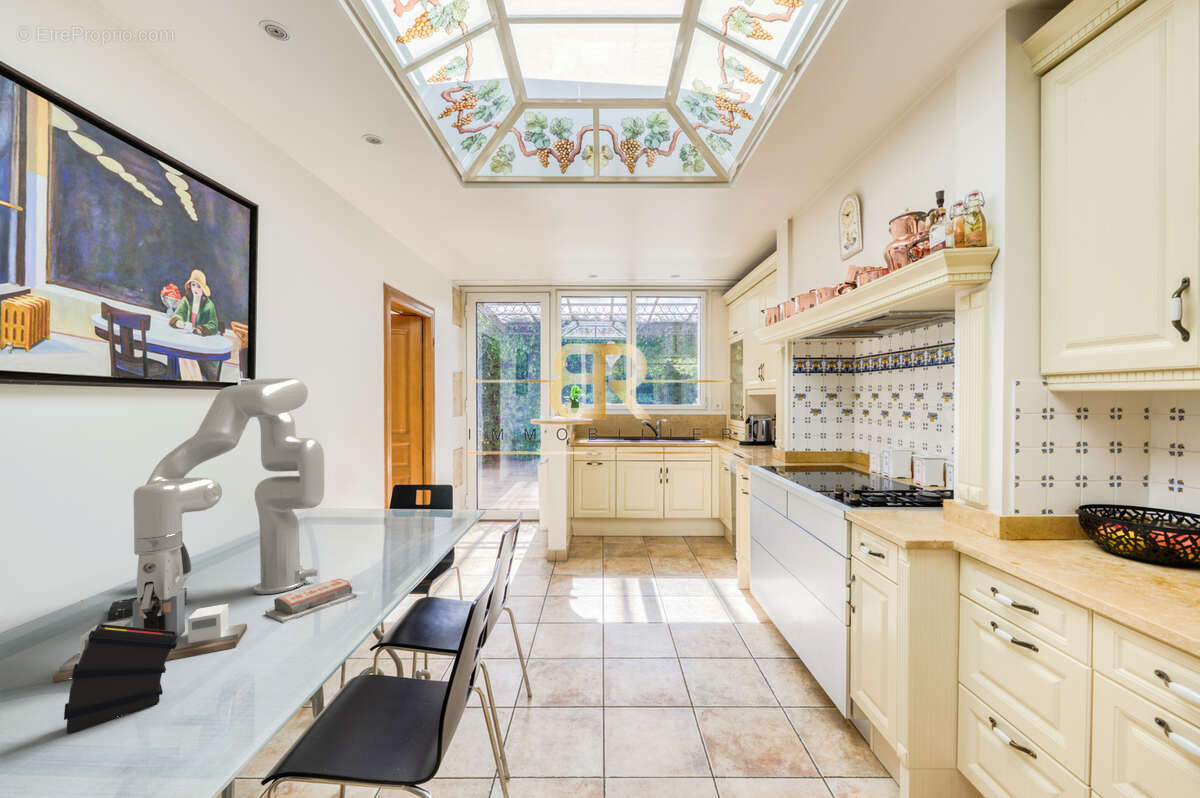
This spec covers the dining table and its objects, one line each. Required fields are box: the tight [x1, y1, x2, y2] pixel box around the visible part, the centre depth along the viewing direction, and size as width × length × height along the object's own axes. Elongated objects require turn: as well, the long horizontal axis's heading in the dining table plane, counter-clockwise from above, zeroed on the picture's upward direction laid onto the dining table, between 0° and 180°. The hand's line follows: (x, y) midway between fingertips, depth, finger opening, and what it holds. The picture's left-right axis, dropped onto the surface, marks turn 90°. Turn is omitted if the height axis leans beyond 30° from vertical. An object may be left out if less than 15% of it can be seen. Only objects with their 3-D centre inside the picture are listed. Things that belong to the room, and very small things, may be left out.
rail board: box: [52, 623, 248, 683], centre depth 101 cm, size 28×10×2 cm, turn 115°
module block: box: [132, 588, 186, 640], centre depth 101 cm, size 7×5×9 cm
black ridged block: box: [63, 623, 178, 735], centre depth 80 cm, size 4×13×15 cm, turn 136°
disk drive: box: [107, 587, 188, 622], centre depth 127 cm, size 10×3×15 cm
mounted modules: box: [79, 603, 230, 658], centre depth 101 cm, size 22×6×5 cm, turn 115°
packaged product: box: [264, 578, 358, 623], centre depth 125 cm, size 18×5×10 cm
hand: (160, 629), depth 101 cm, fingers closed on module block, 4 cm apart
